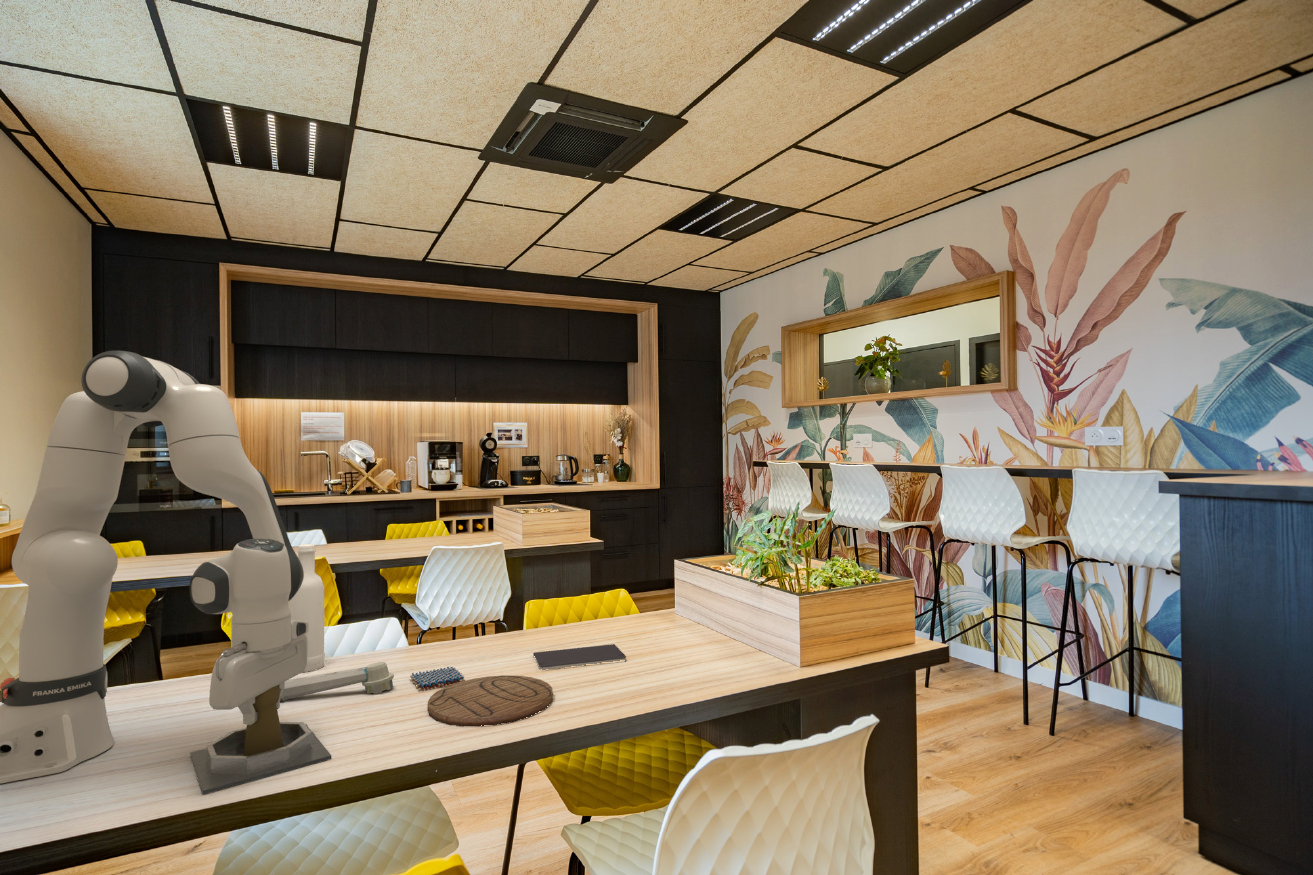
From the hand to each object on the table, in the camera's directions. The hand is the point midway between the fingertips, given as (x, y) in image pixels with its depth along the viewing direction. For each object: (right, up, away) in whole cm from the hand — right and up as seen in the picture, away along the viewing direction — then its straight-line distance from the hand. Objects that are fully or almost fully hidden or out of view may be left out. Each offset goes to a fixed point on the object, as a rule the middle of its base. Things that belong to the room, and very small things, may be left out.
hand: (262, 716), depth 114 cm
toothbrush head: (-3, -8, +30) cm, 31 cm away
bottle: (-18, -9, +49) cm, 53 cm away
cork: (0, -6, 0) cm, 6 cm away
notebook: (+48, -8, +53) cm, 72 cm away
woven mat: (+18, -8, +38) cm, 42 cm away
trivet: (+33, -8, +24) cm, 42 cm away
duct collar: (0, -7, 0) cm, 7 cm away
